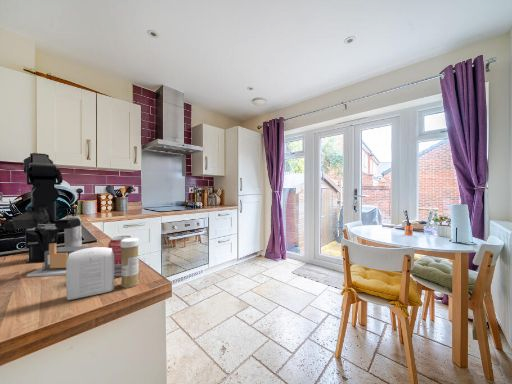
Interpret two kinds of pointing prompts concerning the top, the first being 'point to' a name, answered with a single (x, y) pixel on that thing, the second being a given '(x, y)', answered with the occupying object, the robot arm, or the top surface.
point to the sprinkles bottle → (129, 262)
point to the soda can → (117, 253)
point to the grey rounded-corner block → (89, 272)
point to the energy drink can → (73, 235)
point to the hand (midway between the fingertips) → (44, 249)
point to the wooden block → (57, 257)
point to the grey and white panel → (55, 271)
